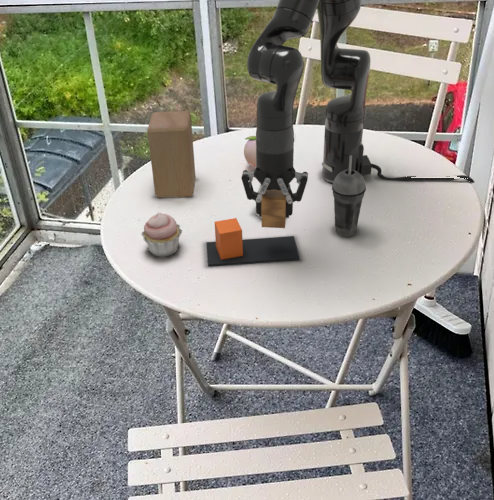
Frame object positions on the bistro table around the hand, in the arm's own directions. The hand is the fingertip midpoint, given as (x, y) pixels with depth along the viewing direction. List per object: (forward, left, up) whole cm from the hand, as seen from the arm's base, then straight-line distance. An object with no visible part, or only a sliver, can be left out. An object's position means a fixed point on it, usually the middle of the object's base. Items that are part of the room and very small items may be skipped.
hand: (274, 215), depth 141 cm
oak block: (0, 0, -2) cm, 2 cm away
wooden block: (+22, -31, -10) cm, 39 cm away
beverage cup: (-17, -6, -10) cm, 20 cm away
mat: (+5, 0, -9) cm, 11 cm away
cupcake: (+25, -4, -10) cm, 27 cm away
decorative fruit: (-1, -38, -10) cm, 39 cm away
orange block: (+10, 0, -9) cm, 13 cm away
